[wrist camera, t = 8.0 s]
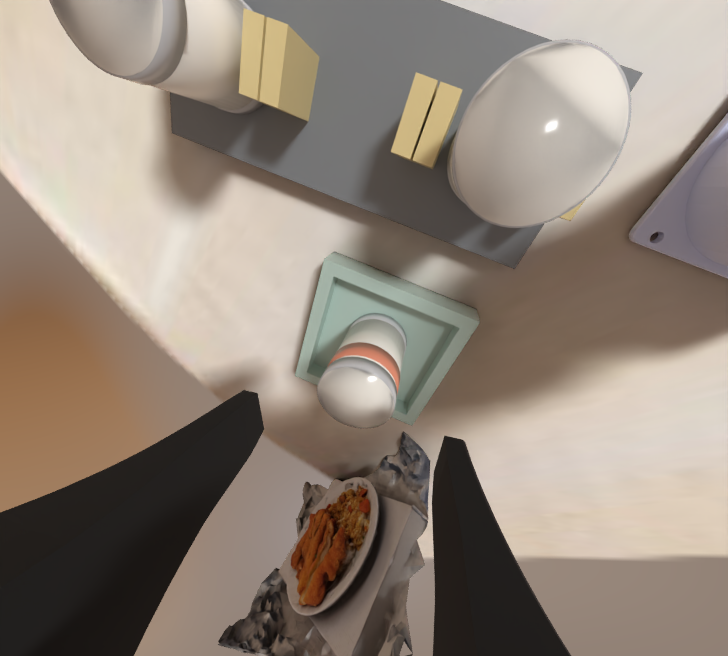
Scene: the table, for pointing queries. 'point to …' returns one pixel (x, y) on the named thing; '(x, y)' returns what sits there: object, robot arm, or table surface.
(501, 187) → the fuse
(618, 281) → the table surface
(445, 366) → the tray
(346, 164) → the fuse holder
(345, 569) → the meal
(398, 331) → the cylinder
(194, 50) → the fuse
